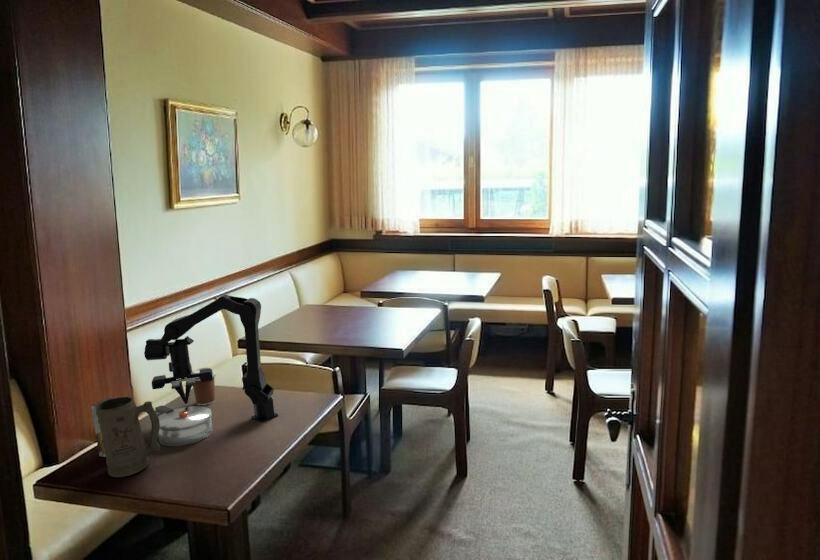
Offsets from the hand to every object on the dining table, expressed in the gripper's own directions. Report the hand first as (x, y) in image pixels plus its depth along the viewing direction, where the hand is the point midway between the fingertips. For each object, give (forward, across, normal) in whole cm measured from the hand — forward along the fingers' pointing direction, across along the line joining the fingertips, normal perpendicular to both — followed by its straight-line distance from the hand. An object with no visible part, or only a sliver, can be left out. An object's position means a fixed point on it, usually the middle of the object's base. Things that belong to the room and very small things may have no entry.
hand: (186, 403), depth 212 cm
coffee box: (+6, +19, +18) cm, 27 cm away
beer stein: (+6, +13, +31) cm, 34 cm away
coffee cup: (+6, -5, -17) cm, 19 cm away
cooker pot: (+6, +2, +9) cm, 12 cm away
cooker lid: (+1, +2, +9) cm, 10 cm away
